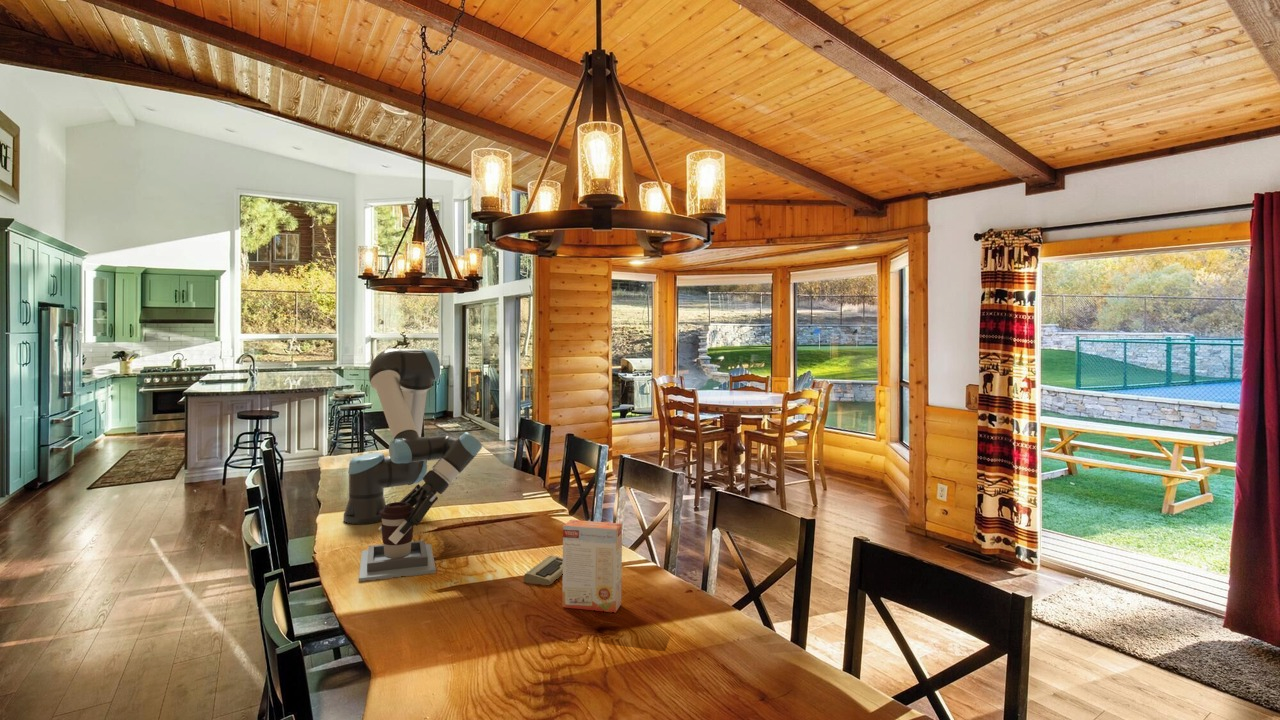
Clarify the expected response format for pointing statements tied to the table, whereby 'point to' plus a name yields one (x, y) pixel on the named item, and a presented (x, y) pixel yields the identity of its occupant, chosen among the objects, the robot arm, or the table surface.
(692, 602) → the table surface
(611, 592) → the cracker box
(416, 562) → the pocket plate
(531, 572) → the computer
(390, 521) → the coffee cup
